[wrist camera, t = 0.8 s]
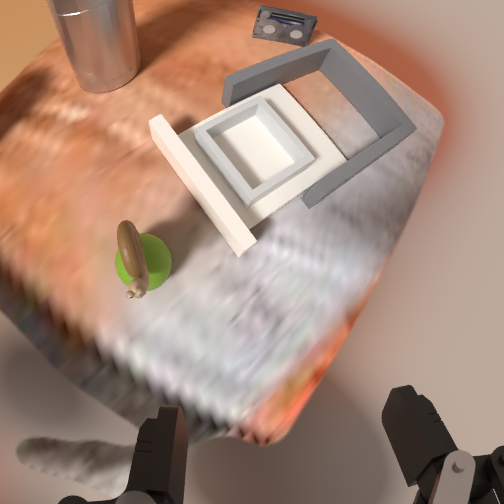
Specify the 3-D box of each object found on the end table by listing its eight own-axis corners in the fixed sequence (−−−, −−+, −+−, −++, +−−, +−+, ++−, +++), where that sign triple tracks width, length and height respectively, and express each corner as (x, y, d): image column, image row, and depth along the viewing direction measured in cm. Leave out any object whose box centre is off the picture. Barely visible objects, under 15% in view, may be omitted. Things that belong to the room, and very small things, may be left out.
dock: (221, 102, 36) (225, 76, 31) (321, 59, 40) (332, 38, 35) (309, 209, 35) (325, 194, 30) (397, 144, 39) (417, 128, 34)
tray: (152, 139, 33) (148, 120, 29) (269, 79, 37) (276, 60, 33) (238, 257, 32) (244, 250, 28) (352, 175, 36) (367, 161, 33)
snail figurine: (134, 308, 30) (98, 308, 18) (117, 248, 31) (76, 217, 19) (183, 292, 31) (175, 284, 20) (165, 233, 32) (148, 192, 20)
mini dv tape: (304, 41, 40) (316, 15, 35) (305, 47, 40) (317, 20, 34) (252, 32, 39) (260, 3, 33) (252, 37, 39) (259, 9, 33)
